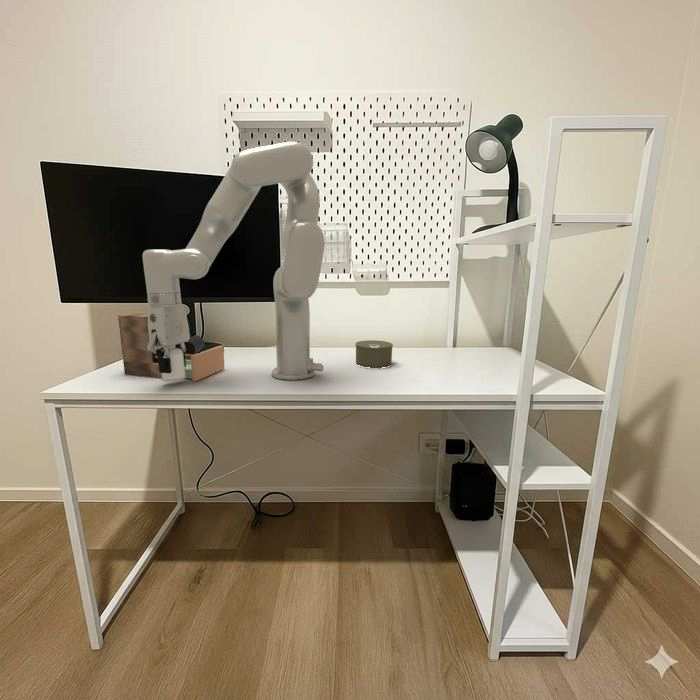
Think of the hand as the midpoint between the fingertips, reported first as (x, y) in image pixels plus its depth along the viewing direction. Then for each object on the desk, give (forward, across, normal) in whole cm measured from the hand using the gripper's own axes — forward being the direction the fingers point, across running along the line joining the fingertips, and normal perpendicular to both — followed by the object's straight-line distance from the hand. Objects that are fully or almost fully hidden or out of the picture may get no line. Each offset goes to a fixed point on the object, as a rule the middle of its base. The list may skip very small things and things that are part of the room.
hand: (173, 368), depth 102 cm
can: (+6, +37, -46) cm, 59 cm away
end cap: (+5, +28, +16) cm, 32 cm away
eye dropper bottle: (+3, 0, 0) cm, 3 cm away
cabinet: (+4, +10, +12) cm, 16 cm away
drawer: (+4, +10, +3) cm, 11 cm away
